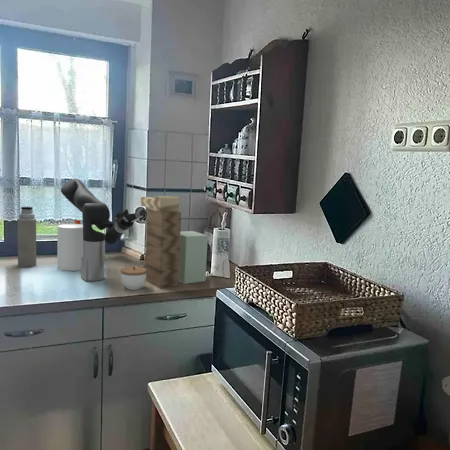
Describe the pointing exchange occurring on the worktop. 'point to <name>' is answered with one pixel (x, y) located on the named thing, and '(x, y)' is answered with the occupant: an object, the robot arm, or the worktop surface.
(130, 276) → the lidded jar
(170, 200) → the wooden block
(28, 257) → the thermos bottle
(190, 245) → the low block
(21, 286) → the worktop surface
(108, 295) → the worktop surface
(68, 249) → the canister
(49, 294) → the worktop surface
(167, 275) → the tall box
